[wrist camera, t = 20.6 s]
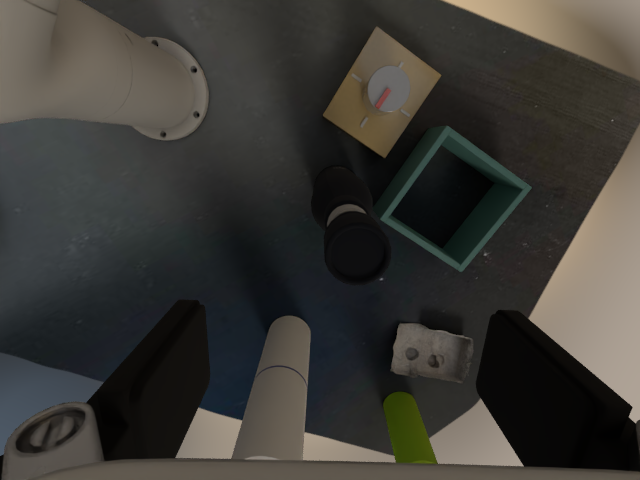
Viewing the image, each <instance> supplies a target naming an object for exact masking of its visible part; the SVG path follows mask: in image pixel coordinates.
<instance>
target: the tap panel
mask: <svg viewBox="0 0 640 480" xmlns="http://www.w3.org/2000/svg"><path fill="white" fill-rule="evenodd" d="M388 65H392V66H397V67H399V68H401V69H402V70H403V71H404V72H405V73H406V74H407V76H408V78H409V81H410V94H409V97H408V99H407V101H406V102H405V104H404V105H403V106H402V107H400V108H399V109H397V110H395V111H393V112H391V113H389V114H387V115H383V116H377V115H374V114H372V113H370V112H369V111H368V110H367V109H366V108H365V106H364V103H363V99H362V94H363V89H364V87H365V85H366V83H367V82H368V80H369V79H370V78H371V76H372V75H373V74H374V72H375V71H377V70H378V69H379V68H381V67H384V66H388ZM440 77H441V75H440V74H439V73H438V72H436V71H435V70H434V69H432V68H431V67H430V66H429V65H427V64H426V63H425V62H423V61H422V60H421V59H419V58H418V57H417V56H415V55H414V54H413V53H411V52H410V51H409V50H408V49H406V48H405V47H404V46H402V45H401V44H400V43H398V42H397V41H396V40H394V39H393V38H392V37H390V36H389V35H388V34H386V33H385V32H384V31H383V30H381V29H380V28H379V27H377V26H376V28H375V29H374V31H373V33H372V34H371V36H370V37H369V39H368V41H367V42H366V44H365V46H364V47H363V49H362V51H361V52H360V54H359V56H358V57H357V59H356V61H355V62H354V64H353V66H352V67H351V69H350V71H349V72H348V74H347V76H346V77H345V79H344V81H343V82H342V84H341V86H340V87H339V89H338V91H337V92H336V94H335V96H334V97H333V99H332V101H331V102H330V104H329V106H328V107H327V109H326V111H325V112H324V114H323V118H324V119H326V120H327V121H329V122H330V123H331V124H333V125H334V126H336V127H337V128H339V129H340V130H342V131H343V132H345V133H346V134H347V135H349V136H350V137H352V138H353V139H355V140H356V141H358V142H359V143H361V144H362V145H364V146H365V147H366V148H368V149H369V150H371V151H372V152H374V153H375V154H377V155H378V156H380V157H381V158H386V156H387V155H388V153H389V152H390V150H391V149H392V147H393V146H394V144H395V143H396V142H397V140H398V139H399V137H400V136H401V134H402V133H403V131H404V130H405V128H406V127H407V125H408V124H409V122H410V121H411V119H412V118H413V117H414V115H415V114H416V112H417V111H418V109H419V108H420V106H421V105H422V103H423V102H424V100H425V99H426V97H427V96H428V95H429V93H430V92H431V90H432V89H433V87H434V86H435V84H436V83H437V81H438V80H439V78H440Z"/></svg>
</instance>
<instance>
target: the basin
mask: <svg viewBox="0 0 640 480" xmlns="http://www.w3.org/2000/svg"><path fill="white" fill-rule="evenodd" d="M440 145H442V146H443V147H445V148H446V149H448V150H449V151H450V152H452V153H453V154H455V155H456V156H457V157H459V158H460V159H462V160H463V161H464V162H466V163H467V164H468V165H470V166H471V167H473V168H474V169H475V170H477V171H478V172H480V173H481V174H482V175H484V176H485V177H487V178H488V179H489V180H491V181H492V182H494V184H493V186H492V187H491V188H490V189H489V191H488V192H487V193H486V194H485V196H484V197H483V198H482V199H481V201H480V202H479V203H478V204H477V206H476V207H475V208H474V209H473V211H472V212H471V213H470V215H469V216H468V217H467V218H466V220H465V221H464V222H463V223H462V225H461V226H460V227H459V228H458V230H457V231H456V232H455V233H454V235H453V236H452V237H451V238H450V240H449V241H448V242H447V243H446V245H445V246H444V247H443V248H440V247H439V246H437V245H436V244H434V243H433V242H431V241H430V240H428V239H427V238H425V237H424V236H422V235H421V234H419V233H418V232H416V231H415V230H413V229H411V228H410V227H408V226H407V225H405V224H404V223H402V222H401V221H399V220H398V219H396V218H395V217H393V216H392V215H391V213H392V212H393V210H394V209H395V208H396V206H397V205H398V203H399V202H400V201H401V199H402V198H403V197H404V195H405V194H406V192H407V191H408V190H409V188H410V187H411V185H412V184H413V183H414V181H415V180H416V179H417V177H418V176H419V174H420V173H421V172H422V170H423V169H424V167H425V166H426V165H427V163H428V162H429V161H430V159H431V158H432V156H433V155H434V154H435V152H436V151H437V149H438V148H439V147H440ZM531 188H532V187H531V186H529V185H528V184H526V183H525V182H524V181H522V180H521V179H520V178H518V177H517V176H516V175H514V174H513V173H511V172H510V171H509V170H507V169H506V168H505V167H503V166H502V165H501V164H499V163H498V162H496V161H495V160H494V159H492V158H491V157H490V156H488V155H487V154H486V153H484V152H483V151H481V150H480V149H479V148H477V147H476V146H475V145H473V144H472V143H471V142H469V141H468V140H466V139H465V138H464V137H462V136H461V135H460V134H458V133H457V132H456V131H454V130H453V129H451V128H450V127H449V126H440V127H434V128H428V130H427V131H426V132H425V134H424V135H423V137H422V138H421V140H420V141H419V142H418V144H417V145H416V147H415V148H414V150H413V151H412V152H411V154H410V155H409V157H408V158H407V160H406V161H405V162H404V164H403V165H402V167H401V168H400V170H399V171H398V172H397V174H396V175H395V177H394V178H393V180H392V181H391V182H390V184H389V185H388V187H387V188H386V190H385V191H384V192H383V194H382V195H381V197H380V198H379V200H378V201H377V202H376V204H375V205H374V207H373V208H372V209H373V211H374V212H375V213H376V215H377V216H378V217H379V219H380V220H382V221H383V222H385V223H386V224H388V225H389V226H391V227H392V228H394V229H396V230H397V231H399V232H400V233H402V234H403V235H405V236H406V237H408V238H409V239H411V240H412V241H414V242H415V243H417V244H419V245H420V246H422V247H423V248H425V249H426V250H428V251H429V252H431V253H432V254H434V255H435V256H437V257H439V258H440V259H442V260H443V261H445V262H446V263H448V264H449V265H451V266H452V267H454V268H455V269H457V270H459V271H460V272H462V271H463V270H464V269H465V267H466V266H467V265H468V264H469V263H470V261H471V260H472V259H473V258H474V257H475V255H476V254H477V253H478V252H479V251H480V249H481V248H482V247H483V246H484V245H485V243H486V242H487V241H488V240H489V239H490V237H491V236H492V235H493V234H494V233H495V231H496V230H497V229H498V228H499V227H500V225H501V224H502V223H503V222H504V221H505V219H506V218H507V217H508V216H509V215H510V213H511V212H512V211H513V210H514V209H515V207H516V206H517V205H518V204H519V203H520V201H521V200H522V199H523V198H524V197H525V195H526V194H527V193H528V192H529V191H530V189H531Z"/></svg>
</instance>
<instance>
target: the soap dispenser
mask: <svg viewBox="0 0 640 480" xmlns="http://www.w3.org/2000/svg"><path fill="white" fill-rule="evenodd" d="M383 408H384V413H385V417H386V421H387V426H388V430H389V434H390V438H391V443H392V447H393V451H394V456H395V460H396V463H426V464H438V463H437V460H436V458H435V455H434V452H433V449H432V447H431V444H430V441H429V438H428V435H427V433H426V430H425V427H424V424H423V421H422V419H421V416H420V413H419V410H418V408H417V405H416V402H415V400H414V398H413V397H412V396H411V395H410V394H408V393H406V392H394V393H392V394H390V395H389V396H387V397H386V399H385V400H384V403H383Z"/></svg>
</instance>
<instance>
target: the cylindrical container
mask: <svg viewBox="0 0 640 480" xmlns="http://www.w3.org/2000/svg"><path fill="white" fill-rule="evenodd" d="M310 334H311V333H310V329H309V327H308V325H307V324H306V323H305V322H304V321H303V320H302V319H300V318H298V317H295V316H283V317H280V318H278V319H276V320H275V321H274V322H273V323H272V324H271V326H270V328H269V331H268V335H267V338H266V342H265V345H264V349H263V352H262V356H261V359H260V362H259V366H258V369H257V373H256V376H255V379H254V383H253V386H252V390H251V393H250V397H249V400H248V404H247V407H246V411H245V414H244V417H243V421H242V424H241V428H240V431H239V435H238V438H237V441H236V445H235V448H234V452H233V455H232V458H231V459H256V460H302V458H303V444H304V429H305V414H306V398H307V383H308V367H309V352H310Z"/></svg>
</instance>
